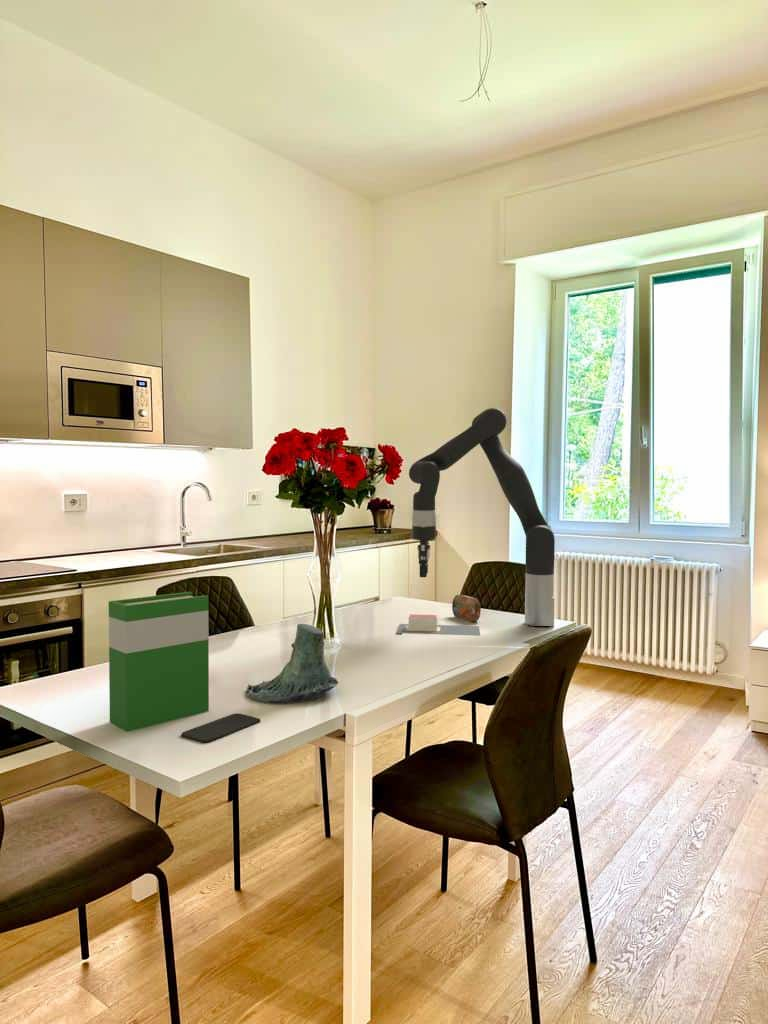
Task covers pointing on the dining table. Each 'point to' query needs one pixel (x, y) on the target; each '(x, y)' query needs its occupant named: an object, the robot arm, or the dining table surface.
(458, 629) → the mat
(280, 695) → the tree stump
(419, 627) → the card deck
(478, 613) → the tin
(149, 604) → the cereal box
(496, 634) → the dining table surface
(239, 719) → the phone
